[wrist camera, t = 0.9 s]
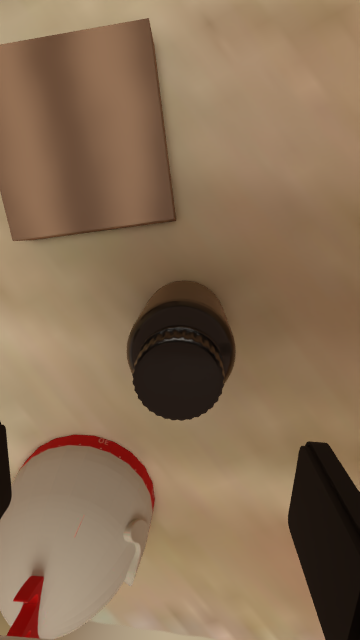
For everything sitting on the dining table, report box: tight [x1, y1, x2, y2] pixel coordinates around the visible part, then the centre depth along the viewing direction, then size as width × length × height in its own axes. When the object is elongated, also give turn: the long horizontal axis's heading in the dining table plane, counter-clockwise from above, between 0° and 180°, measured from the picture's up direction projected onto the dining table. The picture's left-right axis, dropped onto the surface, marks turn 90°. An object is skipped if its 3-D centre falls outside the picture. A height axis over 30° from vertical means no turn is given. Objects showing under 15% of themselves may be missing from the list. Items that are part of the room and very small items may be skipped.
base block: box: [0, 18, 176, 241], centre depth 23 cm, size 12×12×3 cm
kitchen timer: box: [0, 435, 155, 640], centre depth 26 cm, size 14×14×15 cm
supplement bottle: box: [127, 281, 235, 421], centre depth 22 cm, size 7×7×12 cm
